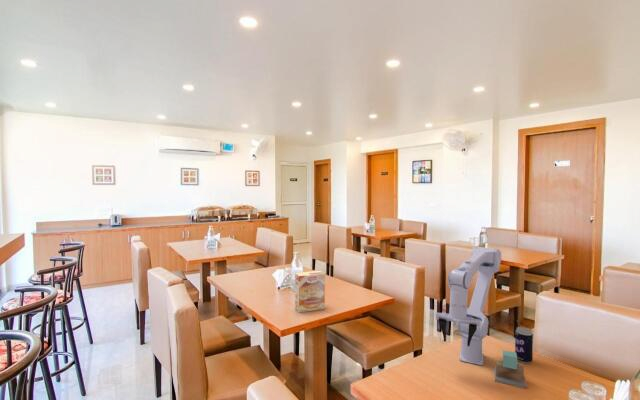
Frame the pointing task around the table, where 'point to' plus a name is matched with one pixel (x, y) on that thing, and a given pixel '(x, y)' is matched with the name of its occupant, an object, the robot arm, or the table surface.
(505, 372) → the walnut brick
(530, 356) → the beverage can
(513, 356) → the cube
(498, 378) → the plate
